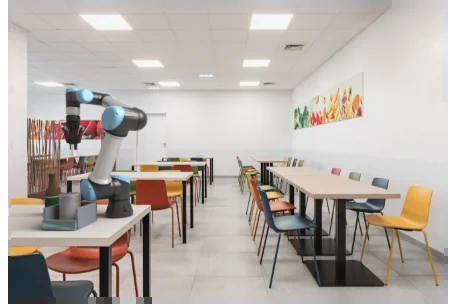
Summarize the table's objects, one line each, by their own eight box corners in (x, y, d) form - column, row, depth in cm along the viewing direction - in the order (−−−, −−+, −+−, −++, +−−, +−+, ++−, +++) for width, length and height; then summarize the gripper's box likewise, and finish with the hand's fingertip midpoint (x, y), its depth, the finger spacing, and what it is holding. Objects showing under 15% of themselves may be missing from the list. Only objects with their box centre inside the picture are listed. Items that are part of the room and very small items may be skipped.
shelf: (65, 220, 157) (65, 212, 157) (94, 220, 156) (94, 212, 156) (42, 229, 139) (41, 220, 139) (75, 229, 138) (74, 220, 138)
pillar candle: (71, 218, 155) (70, 189, 155) (85, 219, 152) (84, 190, 152) (54, 222, 146) (53, 192, 146) (69, 224, 143) (68, 193, 143)
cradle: (66, 220, 159) (66, 201, 159) (97, 220, 158) (96, 201, 158) (43, 229, 141) (43, 208, 141) (78, 229, 140) (77, 208, 140)
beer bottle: (42, 216, 168) (42, 174, 168) (46, 213, 175) (46, 173, 175) (57, 215, 170) (57, 173, 170) (61, 213, 178) (61, 172, 177)
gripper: (87, 115, 177) (87, 155, 177) (66, 116, 178) (66, 155, 178) (80, 114, 169) (80, 155, 170) (58, 114, 170) (58, 155, 170)
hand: (73, 155), depth 174 cm, fingers closed
